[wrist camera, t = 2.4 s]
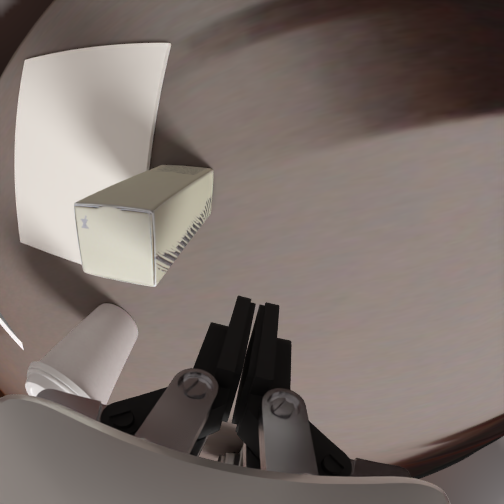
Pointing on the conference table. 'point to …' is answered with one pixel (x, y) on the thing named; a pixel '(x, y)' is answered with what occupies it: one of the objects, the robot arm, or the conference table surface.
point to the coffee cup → (87, 356)
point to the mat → (81, 133)
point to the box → (142, 222)
